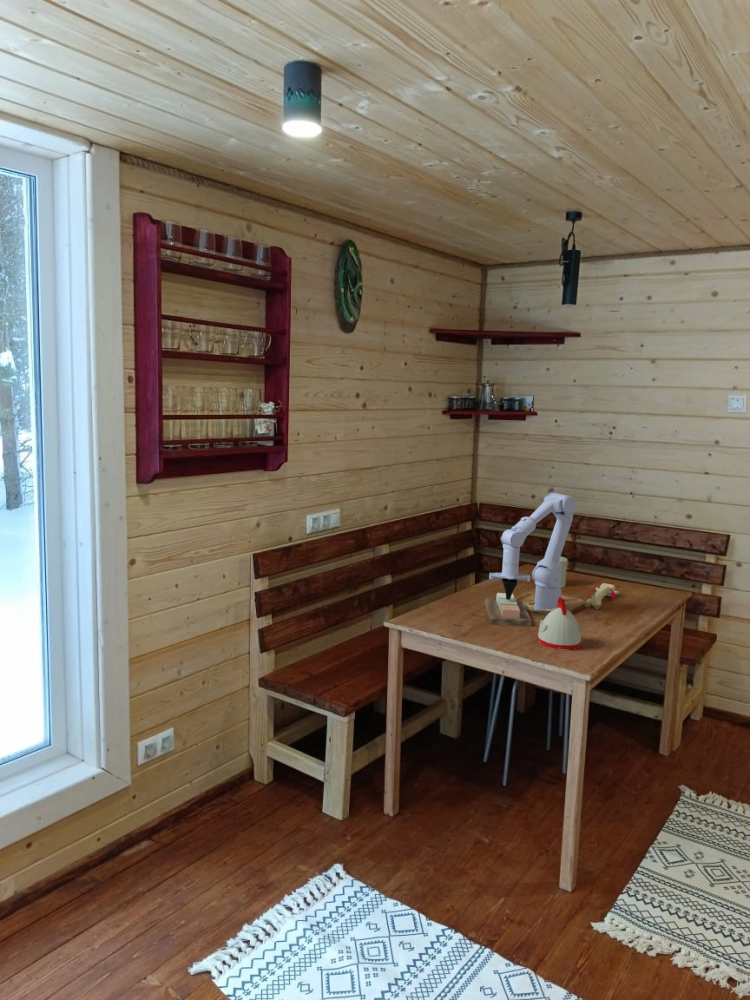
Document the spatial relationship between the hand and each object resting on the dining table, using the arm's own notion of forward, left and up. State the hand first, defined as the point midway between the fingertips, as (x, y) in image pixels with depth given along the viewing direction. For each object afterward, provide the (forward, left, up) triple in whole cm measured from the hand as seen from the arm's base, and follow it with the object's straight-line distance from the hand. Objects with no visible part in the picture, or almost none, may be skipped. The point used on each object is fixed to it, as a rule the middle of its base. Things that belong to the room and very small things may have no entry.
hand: (508, 598), depth 275 cm
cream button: (0, -7, -4) cm, 9 cm away
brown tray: (0, 0, -6) cm, 6 cm away
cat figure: (-40, -25, -6) cm, 47 cm away
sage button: (0, 0, -4) cm, 4 cm away
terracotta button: (0, +7, -4) cm, 9 cm away
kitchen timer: (-14, +27, -6) cm, 31 cm away
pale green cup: (-25, -45, -6) cm, 52 cm away
